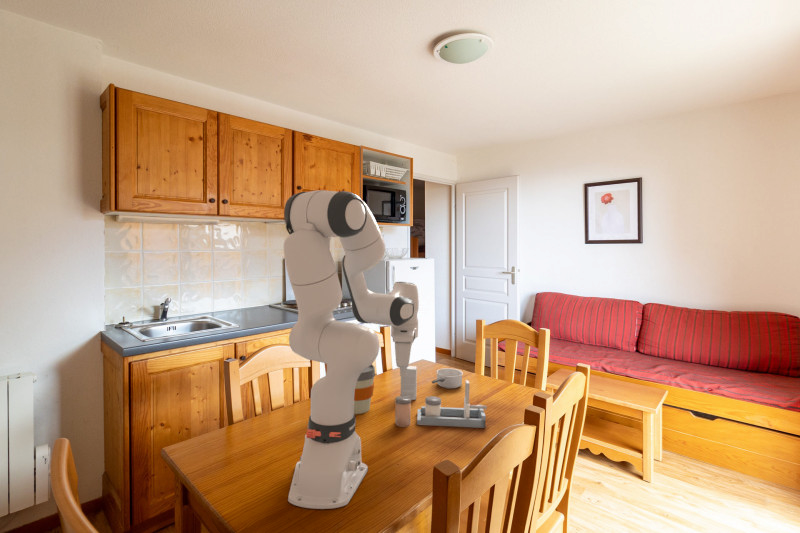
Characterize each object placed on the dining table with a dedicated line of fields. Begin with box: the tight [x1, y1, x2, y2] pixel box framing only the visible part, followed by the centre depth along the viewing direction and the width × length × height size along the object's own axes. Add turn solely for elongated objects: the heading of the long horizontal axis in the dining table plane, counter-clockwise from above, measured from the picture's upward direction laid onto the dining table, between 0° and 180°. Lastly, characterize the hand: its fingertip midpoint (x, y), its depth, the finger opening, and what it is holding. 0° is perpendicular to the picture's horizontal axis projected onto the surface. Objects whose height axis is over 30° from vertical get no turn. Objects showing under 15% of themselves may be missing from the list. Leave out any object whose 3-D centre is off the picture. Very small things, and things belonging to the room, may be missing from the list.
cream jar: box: [424, 395, 442, 417], centre depth 130 cm, size 5×5×7 cm
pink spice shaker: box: [394, 395, 412, 428], centre depth 126 cm, size 5×5×8 cm
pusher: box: [463, 379, 488, 418], centre depth 129 cm, size 6×7×13 cm
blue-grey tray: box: [416, 404, 487, 429], centre depth 129 cm, size 9×22×4 cm, turn 86°
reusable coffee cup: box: [354, 364, 376, 415], centre depth 137 cm, size 13×12×15 cm
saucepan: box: [431, 367, 464, 389], centre depth 160 cm, size 12×20×6 cm, turn 146°
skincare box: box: [400, 365, 418, 401], centre depth 148 cm, size 6×4×12 cm
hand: (403, 372), depth 126 cm, fingers open, 6 cm apart
